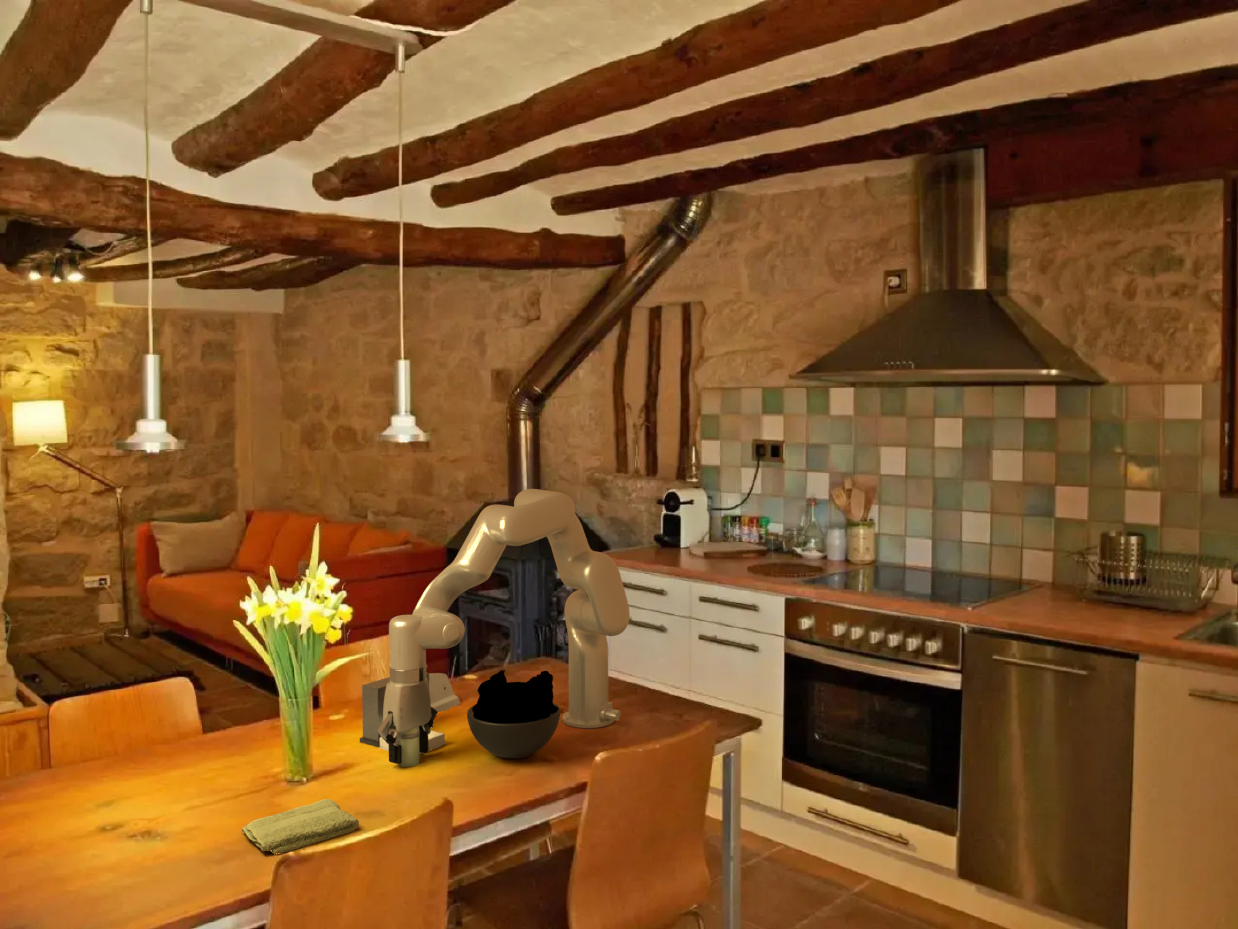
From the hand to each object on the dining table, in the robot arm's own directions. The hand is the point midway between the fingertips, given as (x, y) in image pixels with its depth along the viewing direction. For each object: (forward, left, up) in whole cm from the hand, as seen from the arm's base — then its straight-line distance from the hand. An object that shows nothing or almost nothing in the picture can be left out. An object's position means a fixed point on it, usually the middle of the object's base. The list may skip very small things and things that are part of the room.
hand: (408, 756), depth 217 cm
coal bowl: (-16, -16, -2) cm, 22 cm away
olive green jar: (0, 0, -1) cm, 1 cm away
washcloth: (-10, +36, -2) cm, 37 cm away
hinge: (+23, -30, -2) cm, 38 cm away
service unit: (+16, -12, -1) cm, 20 cm away
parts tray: (+7, -8, -1) cm, 11 cm away
